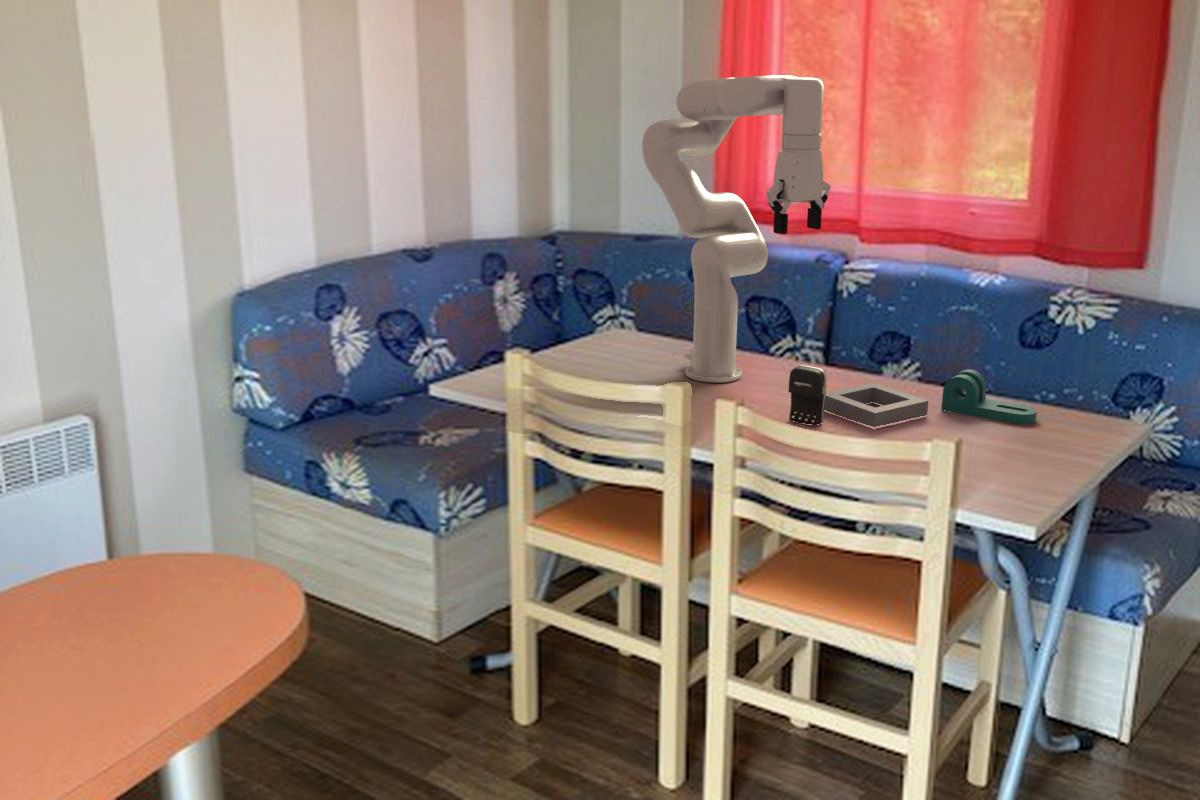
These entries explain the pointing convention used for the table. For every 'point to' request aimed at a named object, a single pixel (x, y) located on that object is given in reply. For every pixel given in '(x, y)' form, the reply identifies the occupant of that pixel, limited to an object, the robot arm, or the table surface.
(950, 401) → the bracket
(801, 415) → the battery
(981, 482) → the table surface
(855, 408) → the frame
